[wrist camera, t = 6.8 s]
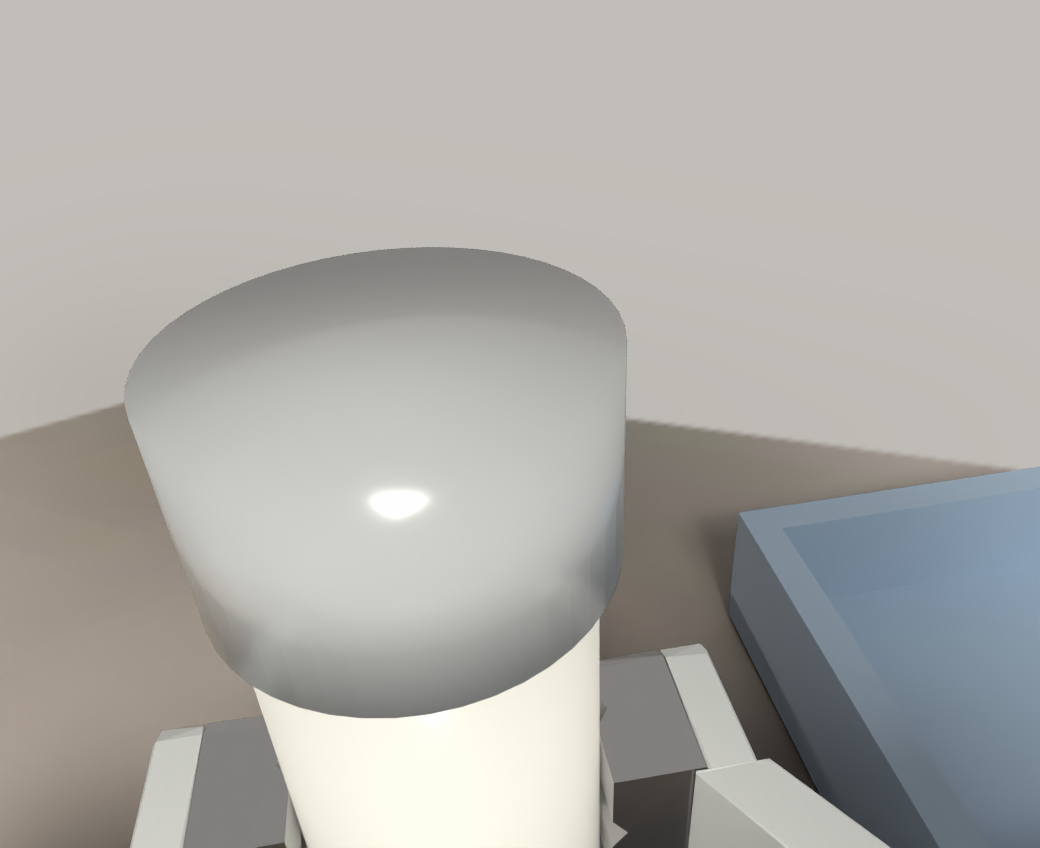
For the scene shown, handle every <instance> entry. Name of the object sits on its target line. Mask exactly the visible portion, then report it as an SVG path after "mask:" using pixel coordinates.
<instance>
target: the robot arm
mask: <svg viewBox="0 0 1040 848" xmlns="http://www.w3.org/2000/svg"><path fill="white" fill-rule="evenodd" d="M599 681H600V836H601V839H602V843H603V847H604V848H890V847H889V846H888V845H886V844H885V843H884V842H882V841H881V840H880V839H878V838H877V837H876V836H874V835H873V834H871V833H870V832H869V831H867V830H866V829H865V828H863V827H862V826H861V825H859V824H858V823H857V822H855V821H854V820H853V819H851V818H850V817H848V816H847V815H846V814H844V813H843V812H842V811H840V810H839V809H838V808H836V807H835V806H834V805H832V804H831V803H830V802H828V801H827V800H825V799H824V798H823V797H821V796H820V795H819V794H817V793H816V792H815V791H813V790H812V789H811V788H809V787H808V786H806V785H805V784H804V783H802V782H801V781H800V780H798V779H797V778H796V777H794V776H793V775H792V774H790V773H789V772H788V771H786V770H785V769H783V768H782V767H781V766H779V765H778V764H777V763H775V762H774V761H773V760H771V759H770V758H768V759H761V760H757V759H756V757H755V754H754V752H753V750H752V748H751V746H750V743H749V741H748V739H747V737H746V735H745V733H744V730H743V728H742V726H741V724H740V722H739V719H738V717H737V715H736V713H735V711H734V709H733V706H732V704H731V702H730V700H729V698H728V695H727V693H726V691H725V689H724V687H723V684H722V682H721V680H720V678H719V676H718V674H717V671H716V669H715V667H714V665H713V663H712V660H711V658H710V656H709V654H708V652H707V650H706V649H705V648H704V647H703V646H702V645H701V644H694V645H688V646H681V647H675V648H669V649H663V650H659V651H657V650H652V651H646V652H641V653H635V654H629V655H624V656H618V657H613V658H607V659H601V660H599ZM130 848H308V847H307V844H306V841H305V838H304V835H303V832H302V829H301V826H300V823H299V821H298V818H297V815H296V812H295V809H294V806H293V803H292V800H291V797H290V794H289V791H288V788H287V785H286V782H285V779H284V776H283V773H282V770H281V767H280V764H279V761H278V758H277V755H276V752H275V749H274V746H273V743H272V740H271V737H270V734H269V732H268V729H267V726H266V723H265V720H264V717H263V716H259V717H252V718H244V719H237V720H230V721H222V722H215V723H208V724H203V725H196V726H189V727H183V728H176V729H170V730H163V731H162V732H161V733H160V735H159V737H158V739H157V740H156V742H155V744H154V746H153V750H152V754H151V759H150V763H149V767H148V772H147V776H146V780H145V784H144V789H143V793H142V797H141V802H140V806H139V810H138V815H137V819H136V823H135V827H134V832H133V836H132V840H131V845H130Z"/></svg>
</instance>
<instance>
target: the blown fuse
mask: <svg viewBox="0 0 1040 848" xmlns="http://www.w3.org/2000/svg"><path fill="white" fill-rule="evenodd" d="M626 360H627V338H626V330H625V325H624V323H623V321H622V318H621V316H620V313H619V311H618V310H617V309H616V307H615V306H614V305H613V304H612V302H611V301H610V299H608V298H607V297H606V296H605V295H604V294H603V293H602V292H601V291H599V290H598V289H597V288H596V287H595V286H593V285H591V284H590V283H588V282H587V281H585V280H584V279H582V278H580V277H578V276H576V275H574V274H572V273H570V272H568V271H566V270H564V269H561V268H559V267H556V266H553V265H550V264H547V263H545V262H541V261H538V260H534V259H530V258H526V257H522V256H517V255H512V254H507V253H502V252H494V251H487V250H478V249H464V248H443V247H422V248H400V249H387V250H376V251H369V252H361V253H354V254H347V255H342V256H336V257H331V258H325V259H321V260H317V261H312V262H308V263H304V264H300V265H296V266H293V267H289V268H286V269H282V270H279V271H276V272H272V273H269V274H267V275H264V276H261V277H258V278H255V279H252V280H250V281H247V282H245V283H242V284H240V285H238V286H235V287H233V288H230V289H228V290H226V291H224V292H222V293H220V294H218V295H216V296H214V297H212V298H210V299H208V300H206V301H204V302H202V303H201V304H199V305H197V306H196V307H194V308H192V309H190V310H189V311H187V312H185V313H184V314H183V315H181V316H180V317H179V318H177V319H176V320H174V321H173V322H172V323H170V324H169V325H168V326H166V327H165V328H164V329H163V330H162V331H161V332H160V333H159V334H157V335H156V336H155V337H154V338H153V339H152V340H151V341H150V343H149V344H148V345H147V346H146V347H145V348H144V349H143V351H142V352H141V353H140V354H139V356H138V358H137V359H136V361H135V363H134V364H133V366H132V368H131V369H130V372H129V375H128V378H127V381H126V384H125V394H124V404H125V408H126V412H127V415H128V419H129V422H130V425H131V427H132V430H133V433H134V436H135V438H136V441H137V444H138V447H139V449H140V452H141V455H142V458H143V460H144V463H145V466H146V469H147V471H148V474H149V477H150V480H151V482H152V485H153V488H154V491H155V493H156V496H157V499H158V502H159V504H160V507H161V510H162V513H163V515H164V518H165V521H166V524H167V526H168V529H169V532H170V535H171V537H172V540H173V543H174V546H175V548H176V551H177V554H178V557H179V559H180V562H181V565H182V568H183V570H184V573H185V576H186V579H187V581H188V584H189V587H190V590H191V592H192V595H193V598H194V601H195V603H196V606H197V609H198V612H199V614H200V617H201V620H202V623H203V625H204V628H205V631H206V633H207V635H208V637H209V639H210V641H211V643H212V645H213V646H214V648H215V650H216V652H217V653H218V654H219V655H220V657H221V658H222V659H223V660H224V661H225V663H226V664H227V665H228V666H229V667H230V668H231V669H232V670H233V671H234V672H235V673H236V674H238V675H239V676H240V677H241V678H243V679H244V680H245V681H246V682H247V683H249V684H250V685H252V686H253V687H254V690H255V693H256V696H257V699H258V702H259V705H260V708H261V711H262V714H263V717H264V720H265V723H266V726H267V729H268V732H269V734H270V737H271V740H272V743H273V746H274V749H275V752H276V755H277V758H278V761H279V764H280V767H281V770H282V773H283V776H284V779H285V782H286V785H287V788H288V791H289V794H290V797H291V800H292V803H293V806H294V809H295V812H296V815H297V818H298V821H299V823H300V826H301V829H302V832H303V835H304V838H305V841H306V844H307V847H308V848H600V681H599V618H600V616H601V615H602V614H603V612H604V611H605V609H606V607H607V605H608V603H609V601H610V599H611V597H612V595H613V593H614V591H615V589H616V586H617V582H618V579H619V575H620V572H621V566H622V556H623V527H624V473H625V420H626V364H627V363H626V362H627V361H626Z"/></svg>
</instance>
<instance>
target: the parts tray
mask: <svg viewBox="0 0 1040 848" xmlns="http://www.w3.org/2000/svg"><path fill="white" fill-rule="evenodd" d="M728 613H729V615H730V617H731V619H732V621H733V623H734V625H735V627H736V629H737V631H738V633H739V635H740V637H741V639H742V641H743V643H744V645H745V647H746V649H747V651H748V653H749V655H750V657H751V659H752V661H753V663H754V665H755V667H756V669H757V671H758V673H759V675H760V677H761V679H762V681H763V683H764V685H765V686H766V688H767V690H768V692H769V694H770V696H771V698H772V700H773V702H774V704H775V706H776V708H777V710H778V712H779V714H780V716H781V718H782V720H783V722H784V724H785V726H786V728H787V730H788V732H789V734H790V736H791V738H792V740H793V742H794V744H795V746H796V748H797V750H798V752H799V754H800V756H801V758H802V760H803V762H804V764H805V766H806V768H807V770H808V772H809V774H810V776H811V778H812V780H813V782H814V784H815V786H816V788H817V790H818V792H819V794H820V796H821V797H823V798H824V799H825V800H827V801H828V802H830V803H831V804H832V805H834V806H835V807H836V808H838V809H839V810H840V811H842V812H843V813H844V814H846V815H847V816H848V817H850V818H851V819H853V820H854V821H855V822H857V823H858V824H859V825H861V826H862V827H863V828H865V829H866V830H867V831H869V832H870V833H871V834H873V835H874V836H876V837H877V838H878V839H880V840H881V841H882V842H884V843H885V844H886V845H888V846H889V847H890V848H1040V467H1035V468H1028V469H1022V470H1015V471H1009V472H1002V473H995V474H989V475H982V476H976V477H969V478H963V479H956V480H949V481H943V482H936V483H930V484H923V485H917V486H910V487H904V488H897V489H890V490H884V491H877V492H871V493H864V494H858V495H851V496H845V497H838V498H831V499H825V500H818V501H812V502H805V503H799V504H792V505H785V506H779V507H772V508H766V509H759V510H753V511H746V512H740V513H739V515H738V525H737V534H736V543H735V552H734V561H733V571H732V580H731V589H730V598H729V607H728Z"/></svg>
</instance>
